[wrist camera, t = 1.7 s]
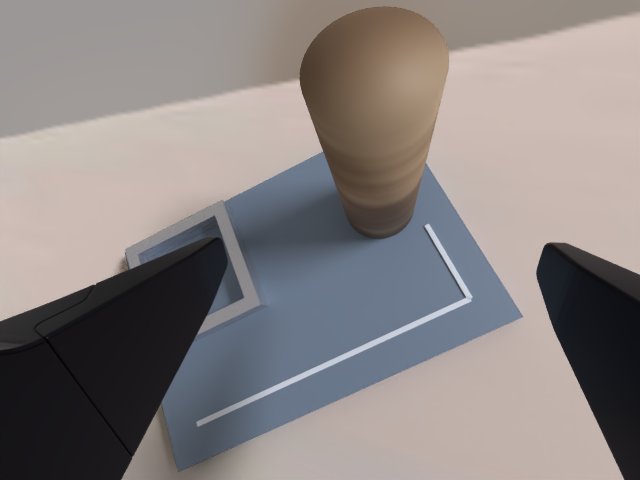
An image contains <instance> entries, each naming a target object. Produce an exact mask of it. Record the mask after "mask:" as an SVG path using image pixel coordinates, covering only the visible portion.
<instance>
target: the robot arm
mask: <svg viewBox="0 0 640 480" xmlns="http://www.w3.org/2000/svg"><path fill="white" fill-rule="evenodd" d="M227 266H228V258H227V255H226V251H225V247H224V244H223V241H222V239H221V238H220V237H210V236H209V237H205V238H203V239H200V240H198V241H196V242H193V243H191V244H188V245H186V246H184V247H181V248H179V249H177V250H174V251H172V252H170V253H167V254H165V255H162V256H160V257H158V258H155V259H153V260H151V261H148V262H146V263H144V264H141V265H139V266H136V267H134V268H132V269H129V270H127V271H125V272H122V273H120V274H118V275H115V276H113V277H110V278H108V279H106V280H103V281H101V282H99V283H97V284H96V285H91V286H89V287H87V288H84V289H82V290H80V291H77V292H75V293H72V294H70V295H67V296H65V297H62V298H60V299H58V300H55V301H52V302H50V303H47V304H45V305H42V306H40V307H37V308H34V309H32V310H29V311H26V312H24V313H21V314H19V315H16V316H13V317H11V318H8V319H5V320H3V321H0V480H121V479H122V477H123V475H124V473H125V471H126V469H127V468H128V466H129V464H130V462H131V460H132V456H134V454H135V452H136V450H137V448H138V446H139V444H140V442H141V440H142V439H143V437H144V435H145V433H146V431H147V429H148V427H149V425H150V423H151V421H152V419H153V418H154V416H155V414H156V412H157V410H158V408H159V406H160V404H161V402H162V400H163V398H164V397H165V395H166V393H167V391H168V389H169V387H170V385H171V383H172V381H173V379H174V377H175V376H176V374H177V372H178V370H179V368H180V366H181V364H182V362H183V360H184V358H185V356H186V355H187V353H188V351H189V349H190V347H191V345H192V343H193V341H194V339H195V337H196V335H197V334H198V332H199V330H200V328H201V326H202V324H203V322H204V320H205V318H206V316H207V314H208V313H209V311H210V308H211V306H212V304H213V302H214V299H215V297H216V294H217V292H218V289H219V287H220V284H221V282H222V279H223V276H224V274H225V271H226V269H227ZM536 275H537V280H538V283H539V286H540V289H541V292H542V295H543V299H544V302H545V305H546V308H547V311H548V314H549V317H550V320H551V323H552V326H553V329H554V331H555V333H556V335H557V338H558V340H559V342H560V344H561V346H562V348H563V350H564V352H565V355H566V357H567V359H568V361H569V363H570V365H571V367H572V369H573V372H574V374H575V376H576V378H577V380H578V382H579V384H580V386H581V389H582V391H583V393H584V395H585V397H586V399H587V401H588V403H589V406H590V408H591V410H592V412H593V414H594V416H595V418H596V420H597V423H598V425H599V427H600V429H601V431H602V433H603V435H604V437H605V440H606V442H607V444H608V446H609V448H610V450H611V452H612V454H613V457H614V459H615V461H616V463H617V465H618V467H619V469H620V471H621V474H622V476H623V478H624V480H640V275H639V274H637V273H634V272H632V271H630V270H627V269H625V268H623V267H620V266H618V265H616V264H613V263H611V262H609V261H607V260H604V259H602V258H600V257H597V256H595V255H593V254H590V253H588V252H586V251H583V250H581V249H579V248H576V247H574V246H572V245H569V244H567V243H547V244H546V245H545V246H544V248H543V251H542V254H541V257H540V260H539V264H538V267H537V272H536Z"/></svg>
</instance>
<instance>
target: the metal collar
mask: <svg viewBox="0 0 640 480" xmlns="http://www.w3.org/2000/svg"><path fill="white" fill-rule="evenodd" d="M217 226H219V228H220V231H221V233H222V236H223V239H224V242H225V245H226V247H227V250H228V253H229V256H230V259H231V262H232V264H233V267H234V270H235V273H236V276H237V278H238V281H239V284H240V287H241V290H242V292H243V295H244V298H243V299H241V300H239V301H237V302H235V303H233V304H231V305H229V306H227V307H225V308H223V309H221V310H218V311H216V312H214V313H212V314H210V315H208V316H206V318H205V320H204V322H203V324H202V326H201V328H200V330H199V332H198V334H197V335H196V337H195V339H194V341H193V342H195V341H197V340H199V339H201V338H203V337H205V336H207V335H209V334H211V333H214V332H216V331H218V330H220V329H222V328H224V327H226V326H228V325H230V324H232V323H234V322H237V321H239V320H241V319H243V318H245V317H247V316H249V315H251V314H253V313H255V312H257V311H259V310H262V309H264V308H266V307H268V306H269V304H268V302H267V299H266V296H265V294H264V291H263V288H262V286H261V283H260V280H259V278H258V275H257V272H256V270H255V267H254V265H253V262H252V259H251V257H250V254H249V251H248V249H247V246H246V243H245V241H244V238H243V236H242V233H241V230H240V228H239V225H238V222H237V220H236V217H235V214H234V212H233V209H232V207H230V206H229V205H228V204H227V203H225V202H224V201H223V200H221V201H219V202H217V203H215V204H213V205H211V206H209V207H207V208H205V209H203V210H201V211H199V212H197V213H195V214H193V215H191V216H189V217H187V218H185V219H184V220H182V221H180V222H178V223H176V224H174V225H172V226H170V227H168V228H166V229H164V230H162V231H160V232H158V233H156V234H154V235H152V236H150V237H148V238H146V239H144V240H142V241H140V242H138V243H136V244H135V245H133V246H131V247H129V248H127V249H125V251H126V255H127V259H128V263H129V267H130V269H132V268H134V267H136V266H139V265H141V264H144V263H146V262H148V261H151V260H153V258H155V257H157V256H159V255H161V254H163V253H165V252H167V251H169V250H171V249H173V248H175V247H177V246H179V245H181V244H183V243H185V242H187V241H189V240H191V239H193V238H195V237H197V236H199V235H201V234H203V233H205V232H207V231H209V230H211V229H213V228H215V227H217Z"/></svg>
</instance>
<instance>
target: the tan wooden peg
mask: <svg viewBox="0 0 640 480" xmlns="http://www.w3.org/2000/svg"><path fill="white" fill-rule="evenodd" d="M448 69H449V52H448V48H447V44H446V42H445V40H444V38H443V36H442V34H441V33H440V31H439V30H438V29H437V28H436V27H435V25H434V24H432V23H431V22H430V21H429V20H428V19H426V18H425V17H423V16H421V15H419V14H417V13H415V12H412V11H410V10H406V9H402V8H397V7H373V8H366V9H362V10H358V11H355V12H352V13H350V14H347V15H345V16H343V17H341V18H339V19H338V20H336V21H334V22H333V23H331V24H330V25H329V26H327V27H326V28H325V29H324V30H323V31H321V32H320V33H319V34H318V35H317V37H316V38H315V39H314V40H313V41H312V43H311V45H310V46H309V48H308V49H307V51H306V53H305V55H304V58H303V61H302V64H301V69H300V86H301V90H302V94H303V97H304V99H305V102H306V105H307V108H308V110H309V113H310V116H311V119H312V122H313V124H314V127H315V130H316V133H317V135H318V138H319V141H320V144H321V146H322V149H323V152H324V155H325V158H326V160H327V163H328V166H329V169H330V171H331V174H332V177H333V180H334V183H335V185H336V188H337V191H338V194H339V196H340V199H341V202H342V205H343V207H344V210H345V213H346V216H347V218H348V221H349V223H350V224H351V226H352V227H353V228H354V229H355V230H356V231H357V232H359V233H360V234H362V235H364V236H366V237H370V238H375V239H383V238H388V237H391V236H394V235H396V234H398V233H399V232H401V231H402V230H403V229H404V228H405V227H406V226H407V225H408V224H409V222H410V220H411V218H412V216H413V212H414V208H415V204H416V200H417V196H418V192H419V187H420V183H421V179H422V175H423V171H424V167H425V163H426V159H427V155H428V151H429V147H430V143H431V139H432V134H433V130H434V126H435V122H436V118H437V114H438V110H439V106H440V102H441V98H442V94H443V90H444V86H445V81H446V77H447V73H448Z"/></svg>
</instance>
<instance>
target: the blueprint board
mask: <svg viewBox="0 0 640 480" xmlns="http://www.w3.org/2000/svg"><path fill="white" fill-rule="evenodd" d="M225 203H227V204H228V205H229V206H230V207H232V209H233V212H234V214H235V217H236V220H237V222H238V225H239V228H240V230H241V233H242V236H243V238H244V241H245V243H246V246H247V249H248V251H249V254H250V257H251V259H252V262H253V265H254V267H255V270H256V272H257V275H258V278H259V280H260V283H261V286H262V288H263V291H264V294H265V296H266V299H267V302H268V304H269V306H268V307H266V308H264V309H262V310H259V311H257V312H255V313H253V314H251V315H249V316H247V317H245V318H243V319H241V320H239V321H237V322H234V323H232V324H230V325H228V326H226V327H224V328H222V329H220V330H218V331H216V332H214V333H211V334H209V335H207V336H205V337H203V338H201V339H199V340H197V341H195V342H193V343H192V345H191V347H190V349H189V351H188V353H187V355H186V356H185V358H184V360H183V362H182V364H181V366H180V368H179V370H178V372H177V374H176V376H175V377H174V379H173V381H172V383H171V385H170V387H169V389H168V391H167V393H166V395H165V397H164V398H163V400H162V402H161V403H162V407H163V412H164V416H165V420H166V424H167V428H168V432H169V436H170V440H171V444H172V448H173V453H174V457H175V461H176V465H177V469H178V472H179V471H182V470H184V469H186V468H188V467H190V466H193V465H195V464H197V463H199V462H202V461H204V460H206V459H208V458H210V457H213V456H215V455H217V454H219V453H221V452H224V451H226V450H228V449H230V448H233V447H235V446H237V445H239V444H241V443H244V442H246V441H248V440H250V439H253V438H255V437H257V436H259V435H261V434H264V433H266V432H268V431H270V430H273V429H275V428H277V427H279V426H281V425H284V424H286V423H288V422H290V421H293V420H295V419H297V418H299V417H301V416H304V415H306V414H308V413H310V412H313V411H315V410H317V409H319V408H321V407H324V406H326V405H328V404H330V403H333V402H335V401H337V400H339V399H341V398H344V397H346V396H348V395H350V394H353V393H355V392H357V391H359V390H361V389H364V388H366V387H368V386H370V385H373V384H375V383H377V382H379V381H381V380H384V379H386V378H388V377H390V376H393V375H395V374H397V373H399V372H401V371H404V370H406V369H408V368H410V367H413V366H415V365H417V364H419V363H421V362H424V361H426V360H428V359H430V358H433V357H435V356H437V355H439V354H441V353H444V352H446V351H448V350H450V349H453V348H455V347H457V346H459V345H461V344H464V343H466V342H468V341H470V340H473V339H475V338H477V337H479V336H481V335H484V334H486V333H488V332H490V331H493V330H495V329H497V328H499V327H501V326H504V325H506V324H508V323H510V322H513V321H515V320H517V319H519V318H521V317H523V316H522V314H521V312H520V311H519V309H518V308H517V306H516V305H515V303H514V301H513V300H512V298H511V297H510V295H509V294H508V292H507V290H506V289H505V287H504V286H503V284H502V282H501V281H500V279H499V278H498V276H497V275H496V273H495V271H494V270H493V268H492V267H491V265H490V264H489V262H488V260H487V259H486V257H485V256H484V254H483V253H482V251H481V249H480V248H479V246H478V245H477V243H476V241H475V240H474V238H473V237H472V235H471V234H470V232H469V230H468V229H467V227H466V226H465V224H464V223H463V221H462V219H461V218H460V216H459V215H458V213H457V211H456V210H455V208H454V207H453V205H452V204H451V202H450V200H449V199H448V197H447V196H446V194H445V193H444V191H443V189H442V188H441V186H440V185H439V183H438V181H437V180H436V178H435V177H434V175H433V174H432V172H431V170H430V169H429V167H428V166H427V164H426V163H425V167H424V171H423V175H422V179H421V183H420V187H419V192H418V196H417V200H416V204H415V208H414V212H413V216H412V218H411V220H410V222H409V224H408V225H407V226H406V227H405V228H404V229H403V230H402V231H401V232H399V233H398V234H396V235H394V236H391V237H388V238H383V239H375V238H370V237H366V236H364V235H362V234H360V233H359V232H357V231H356V230H355V229H354V228H353V227H352V226H351V224H350V223H349V221H348V218H347V216H346V213H345V210H344V207H343V205H342V202H341V199H340V196H339V194H338V191H337V188H336V185H335V183H334V180H333V177H332V174H331V171H330V169H329V166H328V163H327V160H326V158H325V155H324V152H321V153H319V154H317V155H315V156H313V157H311V158H309V159H308V160H306V161H304V162H302V163H300V164H298V165H296V166H294V167H292V168H290V169H288V170H286V171H284V172H282V173H280V174H278V175H276V176H274V177H272V178H270V179H268V180H266V181H264V182H262V183H260V184H258V185H256V186H255V187H253V188H251V189H249V190H247V191H245V192H243V193H241V194H239V195H237V196H235V197H233V198H231V199H229V200H227V201H225ZM209 236H210V237H220V238H221V239H222V241H223V244H224V247H225V251H226V255H227V258H228V266H227V269H226V271H225V274H224V276H223V279H222V282H221V284H220V287H219V289H218V292H217V294H216V297H215V299H214V302H213V304H212V306H211V308H210V311H209V313H208V314H207V316H208V315H210V314H212V313H214V312H216V311H218V310H221V309H223V308H225V307H227V306H229V305H231V304H233V303H235V302H237V301H239V300H241V299H243V298H244V295H243V292H242V290H241V287H240V284H239V281H238V278H237V276H236V273H235V270H234V267H233V264H232V262H231V259H230V256H229V253H228V250H227V247H226V245H225V242H224V239H223V236H222V233H221V231H220V228H219V226H217V227H215V228H213V229H211V230H209V231H207V232H205V233H203V234H201V235H199V236H197V237H195V238H193V239H191V240H189V241H187V242H185V243H183V244H181V245H179V246H177V247H175V248H173V249H171V250H169V251H167V252H165V253H163V254H161V255H159V256H157V257H155V258H158V257H160V256H162V255H165V254H167V253H170V252H172V251H174V250H177V249H179V248H181V247H184V246H186V245H188V244H191V243H193V242H196V241H198V240H200V239H203V238H205V237H209ZM125 255H126V252H125ZM155 258H153V259H155ZM126 259H127V255H126ZM127 264H128V268H129V269H130V267H129V263H128V259H127Z"/></svg>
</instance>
